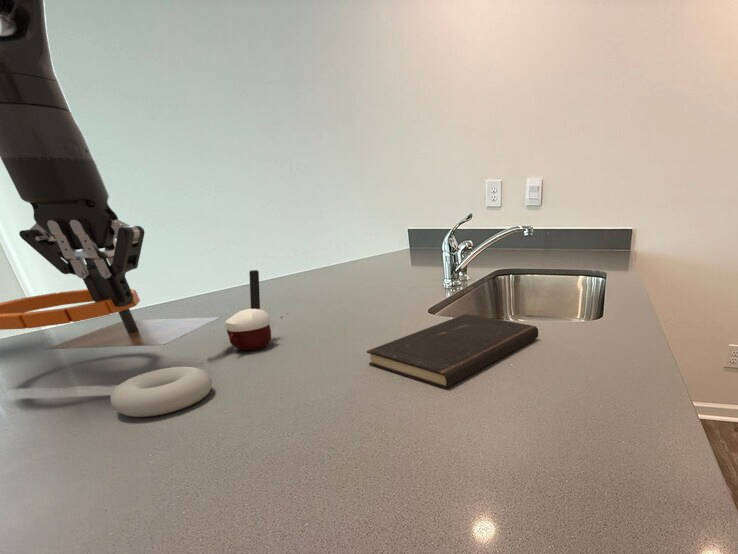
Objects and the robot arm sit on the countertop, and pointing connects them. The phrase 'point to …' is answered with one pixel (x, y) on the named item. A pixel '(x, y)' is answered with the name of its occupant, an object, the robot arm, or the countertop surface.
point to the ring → (16, 318)
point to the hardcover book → (452, 349)
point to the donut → (161, 391)
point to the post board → (136, 332)
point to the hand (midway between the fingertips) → (116, 305)
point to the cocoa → (250, 322)
